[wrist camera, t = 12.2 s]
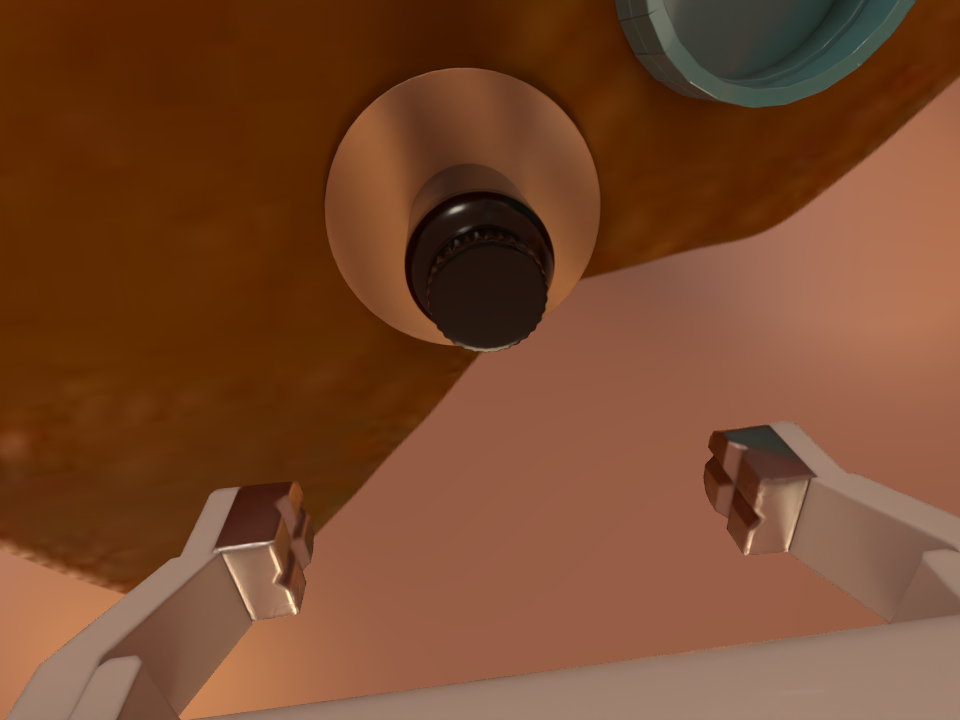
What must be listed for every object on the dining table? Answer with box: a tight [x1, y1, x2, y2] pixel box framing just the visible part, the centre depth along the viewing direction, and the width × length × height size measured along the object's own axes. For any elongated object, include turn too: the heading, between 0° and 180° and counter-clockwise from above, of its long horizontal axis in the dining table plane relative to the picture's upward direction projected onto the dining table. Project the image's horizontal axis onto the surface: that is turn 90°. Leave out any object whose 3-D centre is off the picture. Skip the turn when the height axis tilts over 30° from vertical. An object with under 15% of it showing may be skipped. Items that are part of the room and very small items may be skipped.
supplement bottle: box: [404, 164, 555, 353], centre depth 26 cm, size 7×7×12 cm
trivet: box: [325, 68, 601, 346], centre depth 32 cm, size 16×16×1 cm
